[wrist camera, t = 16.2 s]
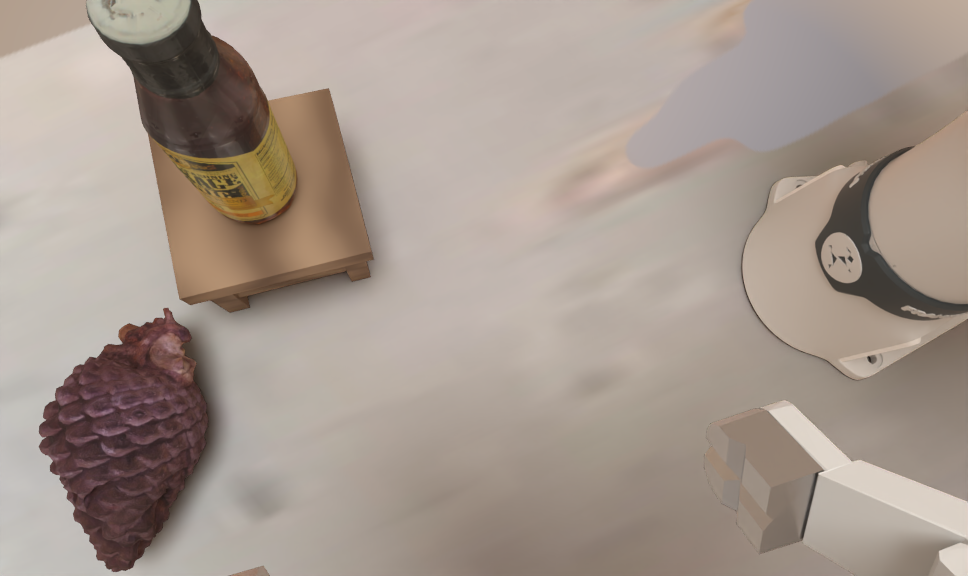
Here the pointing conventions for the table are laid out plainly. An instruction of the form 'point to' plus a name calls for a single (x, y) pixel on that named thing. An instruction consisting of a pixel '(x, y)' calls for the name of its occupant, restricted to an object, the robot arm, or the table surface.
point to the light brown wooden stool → (284, 239)
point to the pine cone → (127, 437)
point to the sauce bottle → (201, 105)
